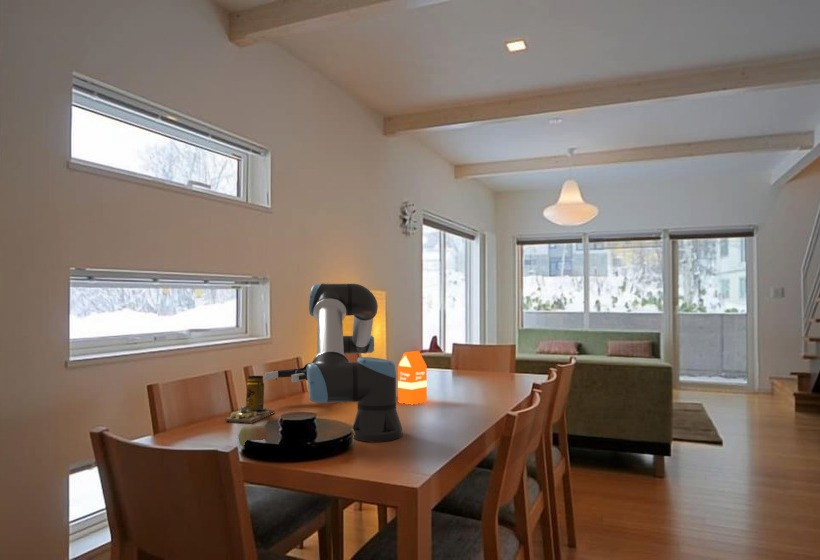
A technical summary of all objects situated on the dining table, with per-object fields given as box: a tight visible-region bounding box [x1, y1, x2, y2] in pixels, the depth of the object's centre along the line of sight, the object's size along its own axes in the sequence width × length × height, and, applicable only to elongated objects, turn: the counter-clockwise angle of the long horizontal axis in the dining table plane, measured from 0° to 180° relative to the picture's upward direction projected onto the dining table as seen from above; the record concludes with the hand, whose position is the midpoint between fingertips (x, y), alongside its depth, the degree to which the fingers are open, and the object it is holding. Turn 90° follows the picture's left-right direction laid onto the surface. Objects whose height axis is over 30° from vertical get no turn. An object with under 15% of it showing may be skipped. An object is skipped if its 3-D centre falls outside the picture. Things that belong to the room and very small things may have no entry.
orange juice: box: [397, 350, 428, 406], centre depth 216 cm, size 8×9×20 cm
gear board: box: [224, 408, 275, 424], centre depth 191 cm, size 16×10×1 cm, turn 167°
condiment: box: [245, 375, 271, 410], centre depth 196 cm, size 7×8×12 cm
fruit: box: [238, 420, 268, 449], centre depth 152 cm, size 8×7×8 cm
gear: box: [230, 405, 257, 419], centre depth 188 cm, size 9×9×3 cm
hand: (278, 377), depth 204 cm, fingers open, 13 cm apart
